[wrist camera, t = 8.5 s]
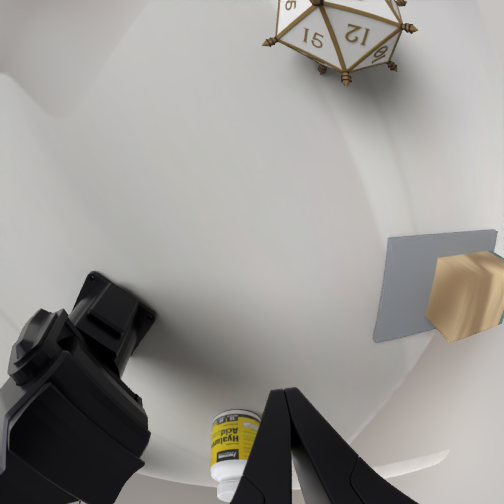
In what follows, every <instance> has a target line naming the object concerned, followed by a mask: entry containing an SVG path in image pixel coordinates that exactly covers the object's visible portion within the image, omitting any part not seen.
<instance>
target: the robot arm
mask: <svg viewBox="0 0 504 504" xmlns="http://www.w3.org/2000/svg"><path fill="white" fill-rule="evenodd" d="M92 276H93V277H94V278H95V280H94V279H93V278H92ZM148 315H150V316H152V318H150V317H149V316H148ZM156 317H157V315H156V313H155V312H154V311H153V310H151V309H150V308H148V307H146V306H145V305H143V304H142V303H140V302H139V301H137V300H136V299H135V298H133V297H132V296H130V295H129V294H127V293H126V292H125V291H123V290H122V289H120V288H119V287H117V286H116V285H114V284H113V283H111V282H109V281H108V280H107V279H105V278H104V277H102V276H101V275H100V274H98V273H97V272H95V271H92V272H90V273H89V274H88V276H87V278H86V280H85V282H84V284H83V287H82V289H81V291H80V293H79V296H78V298H77V300H76V303H75V305H74V308H73V310H72V312H71V314H70V315H69V316H68V314H67V312H66V311H65V310H64V308H63V309H61V310H59V311H58V312H55V313H51V312H48V311H46V310H43V309H40V310H38V311H37V312H36V313H35V314H34V315H33V316H32V317H31V319H30V320H29V321H28V322H27V323H26V324H25V326H24V327H23V329H22V331H21V333H20V336H19V338H18V340H17V342H16V343H15V344H14V345H13V347H12V351H11V356H10V361H9V366H8V374H9V376H10V378H9V379H8V380H7V382H6V383H5V384H4V385H3V387H2V388H1V389H0V504H70V503H74V502H78V501H83V502H85V503H86V504H113V503H114V502H115V500H116V499H117V497H118V495H119V493H120V491H121V489H122V487H123V486H124V484H125V483H126V481H127V480H128V479H129V478H130V477H131V476H132V475H133V473H135V472H136V471H138V470H139V469H140V468H141V467H143V466H144V464H145V462H144V461H143V460H141V459H140V457H141V456H142V454H143V453H144V451H145V449H146V447H147V445H148V443H149V439H150V435H151V432H150V431H149V430H148V417H147V415H146V413H145V410H144V409H143V406H142V399H141V398H140V397H139V396H138V395H137V394H135V393H134V392H132V391H131V390H130V388H129V387H128V386H127V385H126V384H125V383H124V382H123V381H122V380H121V377H122V375H123V372H124V370H125V367H126V365H127V362H128V360H129V357H130V356H131V354H132V353H133V352H134V350H135V349H136V347H137V346H138V344H139V343H140V342H141V340H142V339H143V337H144V336H145V334H146V333H147V332H148V330H149V329H150V327H151V326H152V325H153V323H154V322H155V320H156ZM292 459H293V463H294V466H295V470H296V473H297V476H298V480H299V483H300V487H301V490H302V493H303V496H304V500H305V503H306V504H418V503H417V502H415V501H414V500H412V499H411V498H409V497H408V496H406V495H405V494H404V493H402V492H401V491H399V490H398V489H397V488H395V487H394V486H392V485H391V484H390V483H388V482H387V481H386V480H385V479H383V478H382V477H381V476H380V475H378V474H377V473H376V472H375V471H374V470H373V469H372V468H371V467H370V466H368V464H367V463H366V462H365V461H364V460H363V459H362V458H361V457H358V454H357V453H356V452H355V451H354V450H353V449H352V448H351V447H350V446H349V445H348V444H347V443H346V441H345V440H344V439H343V438H342V437H341V436H340V435H339V434H338V433H337V432H336V431H335V430H334V429H333V427H332V426H331V425H330V424H329V423H328V422H327V421H326V420H325V419H324V417H323V416H322V415H321V414H320V413H319V412H318V411H317V410H316V409H315V407H314V406H313V405H312V404H311V403H310V402H309V401H308V399H307V398H306V397H305V396H304V395H303V394H302V393H301V391H300V390H299V389H298V388H296V387H292V388H285V389H284V390H283V389H275V390H271V391H270V393H269V397H268V400H267V403H266V406H265V409H264V412H263V416H262V419H261V422H260V425H259V428H258V431H257V434H256V437H255V440H254V443H253V445H252V448H251V451H250V454H249V457H248V460H247V463H246V465H245V468H244V471H243V474H242V475H243V476H241V479H240V481H239V484H238V486H237V489H236V491H235V493H234V496H233V498H232V500H231V502H230V504H292Z"/></svg>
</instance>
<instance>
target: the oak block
mask: <svg viewBox="0 0 504 504" xmlns="http://www.w3.org/2000/svg"><path fill="white" fill-rule="evenodd" d="M425 316H426V318H427V319H428V320H429V321H430V322H431V323H432V324H433V325H434V326H435V327H436V328H437V330H438V331H439V332H440V333H441V334H442V335H443V336H444V337H445V339H446V340H447V341H448V342H449V343H451V342H455V341H457V340H460V339H463V338H466V337H468V336H471V335H473V334H476V333H479V332H481V331H484V330H486V329H489V328H491V327H494V326H496V325H499V324H501V323H502V321H503V318H504V258H502V257H501V256H499V255H497V254H496V253H494V252H492V251H491V250H489V251H483V252H476V253H470V254H463V255H456V256H448V257H441V258H438V260H437V266H436V271H435V276H434V281H433V285H432V290H431V294H430V298H429V302H428V306H427V310H426V314H425Z"/></svg>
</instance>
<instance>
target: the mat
mask: <svg viewBox="0 0 504 504" xmlns="http://www.w3.org/2000/svg"><path fill="white" fill-rule="evenodd" d="M496 237H497V231H496V230H494V229H493V230H480V231H467V232H454V233H441V234H429V235H416V236H403V237H391V238H388V247H387V256H386V265H385V273H384V280H383V287H382V293H381V299H380V305H379V311H378V317H377V322H376V327H375V332H374V337H373V340H374V342H375V343H379V342H383V341H388V340H392V339H397V338H401V337H405V336H409V335H413V334H417V333H421V332H424V331H428V330H432V329H435V328H436V327H435V326H434V325H433V324H432V323H431V322H430V321H429V320H428V319H427V318H426V316H425V314H426V310H427V306H428V302H429V298H430V294H431V290H432V285H433V281H434V276H435V271H436V266H437V260H438V258H441V257H448V256H456V255H463V254H470V253H476V252H483V251H489V250H491V251H492V252H494V247H495V242H496Z"/></svg>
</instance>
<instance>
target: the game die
mask: <svg viewBox="0 0 504 504" xmlns="http://www.w3.org/2000/svg"><path fill="white" fill-rule="evenodd" d="M406 3H407V2H406V1H404V0H397V1H395V0H279V1H278V12H277V24H276V35H275V37H274V38H270V39H266V41H265V42H264V43H263V45H262V46H270V47H271V46H272V45H275V43H276V42H280V43H282V44H284V45H286V46H288V47H290V48H292V49H294V50H296V51H297V52H299V53H301V54H303V55H305V56H307V57H308V58H310V59H312V60H314V61H315V62H317V63H319V64H321V65H320V66H319V68H318V70H319V72H320V75H321V74H323V73H325V71H326V68H327V67H328V68H330V69H333V70H336V71H338V72H341V73H343V75H342V77H341V79H342V80H341V82H342V83H343V84H344V85H345V86H346V88H347V86H348V85H349V84H350V82H352V81H351V79H350V78H351V77H350V75H349V73H352V72H355V71H359V70H362V69H366V68H370V67H373V66H377V65H381V64H385V63H386V64H388V67H389V68H390V70H394V71H397V65H395V64H394V62H391V61H390V60H391V57H392V55H393V52H394V50H395V48H396V45H397V43H398V40H399V38H400V35H401V33H402V30H405V31H406V32H407V33H408V32H410V33H411V34H412V33H413V32H416V31H418V30H417V29H416V28H415V27H414V26H413V24H408V23H405V24H403V22H402V19H401V15H400V12H399V8H398V6H405V4H406Z"/></svg>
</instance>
